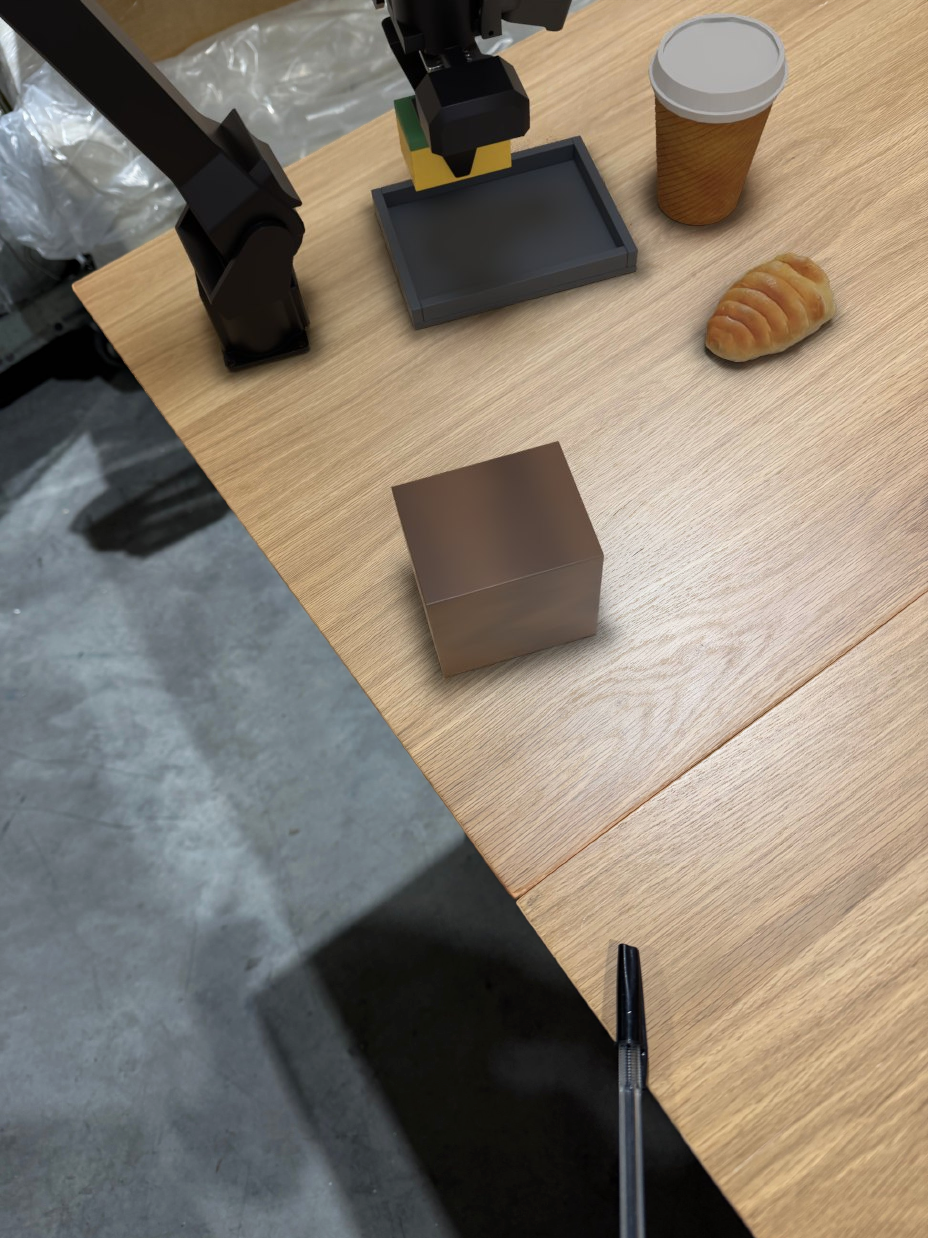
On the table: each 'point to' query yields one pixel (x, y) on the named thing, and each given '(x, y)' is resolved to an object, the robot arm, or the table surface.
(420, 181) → the sponge
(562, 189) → the tray
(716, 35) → the disposable coffee cup
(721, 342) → the pastry
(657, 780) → the table surface
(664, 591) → the table surface
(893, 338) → the table surface
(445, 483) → the cube
